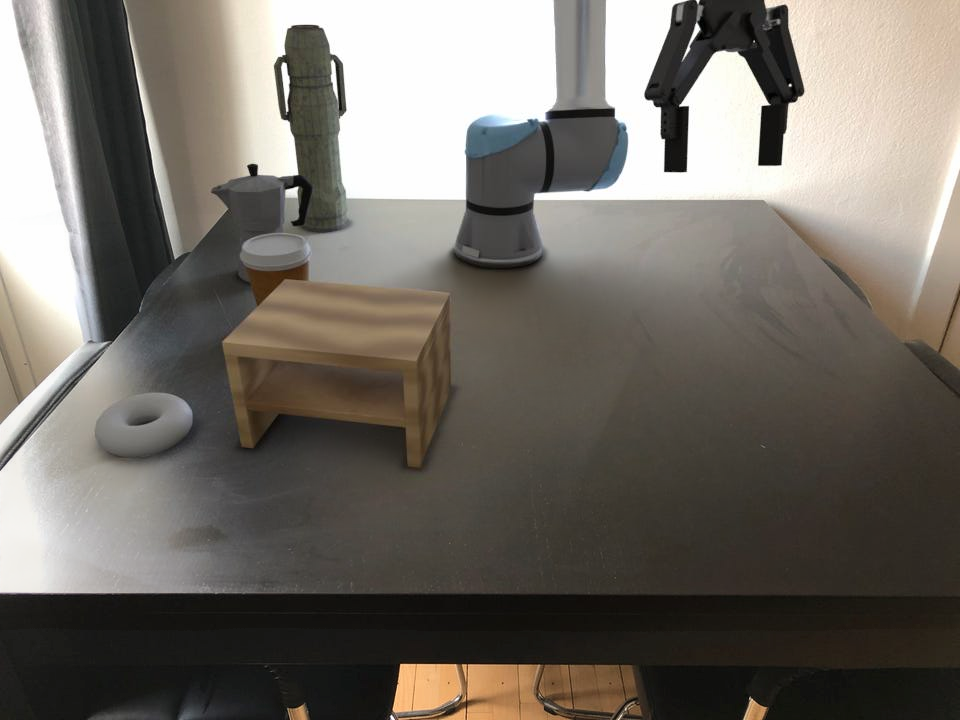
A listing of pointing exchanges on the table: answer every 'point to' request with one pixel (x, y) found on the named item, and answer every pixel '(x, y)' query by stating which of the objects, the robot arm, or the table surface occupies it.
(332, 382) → the shelf
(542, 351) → the table surface
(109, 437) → the donut
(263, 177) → the coffeepot
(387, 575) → the table surface
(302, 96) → the thermos
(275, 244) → the disposable coffee cup
